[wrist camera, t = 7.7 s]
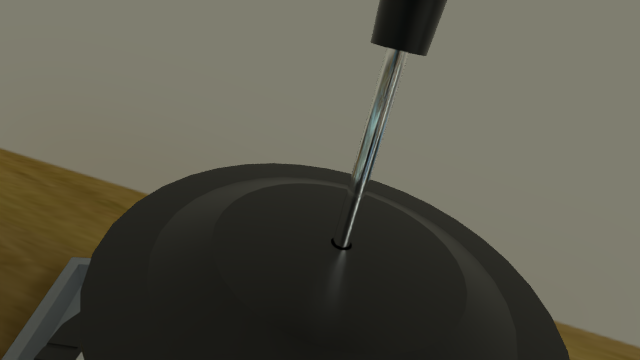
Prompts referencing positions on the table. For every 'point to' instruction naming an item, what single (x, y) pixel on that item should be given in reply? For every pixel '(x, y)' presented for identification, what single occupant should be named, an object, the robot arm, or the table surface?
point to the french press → (309, 261)
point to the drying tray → (51, 311)
